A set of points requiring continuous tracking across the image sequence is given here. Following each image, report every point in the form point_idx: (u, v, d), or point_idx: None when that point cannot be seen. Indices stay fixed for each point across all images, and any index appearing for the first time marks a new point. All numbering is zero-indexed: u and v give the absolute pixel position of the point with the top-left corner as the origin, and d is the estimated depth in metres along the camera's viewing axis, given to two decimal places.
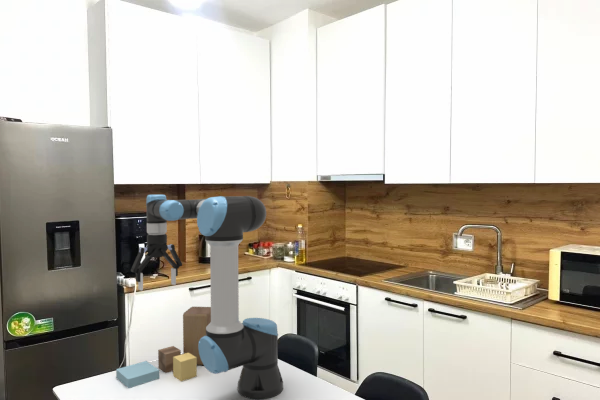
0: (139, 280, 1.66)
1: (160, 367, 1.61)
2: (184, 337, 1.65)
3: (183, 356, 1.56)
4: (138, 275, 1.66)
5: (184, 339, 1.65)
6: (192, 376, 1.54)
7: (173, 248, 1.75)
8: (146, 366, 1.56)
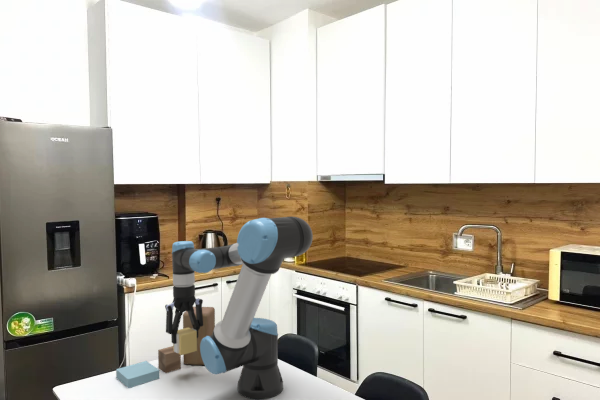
0: (175, 342, 1.51)
1: (160, 367, 1.61)
2: None
3: (183, 330, 1.55)
4: (174, 336, 1.51)
5: None
6: (192, 350, 1.54)
7: (200, 303, 1.58)
8: (146, 366, 1.56)
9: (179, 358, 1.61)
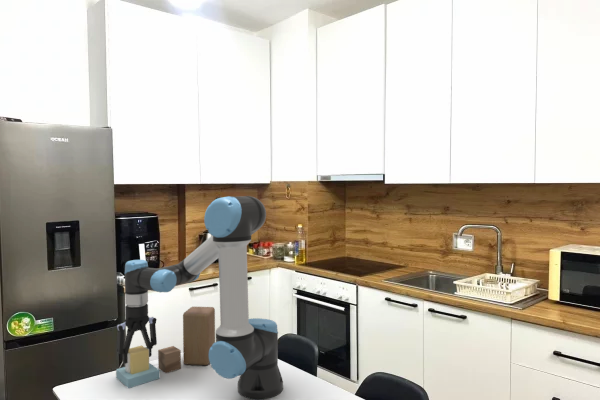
0: (126, 361, 1.51)
1: (160, 367, 1.61)
2: (184, 337, 1.65)
3: (135, 349, 1.54)
4: (125, 356, 1.50)
5: (184, 339, 1.65)
6: (144, 369, 1.53)
7: (154, 322, 1.57)
8: None
9: (179, 358, 1.61)
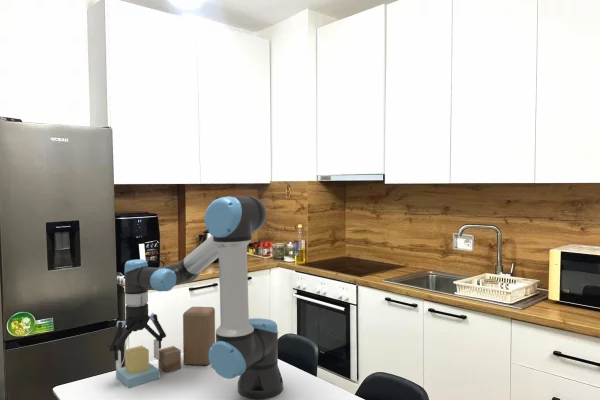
0: (116, 359, 1.48)
1: (160, 367, 1.61)
2: (184, 337, 1.65)
3: (135, 349, 1.54)
4: (115, 353, 1.48)
5: (184, 339, 1.65)
6: (144, 369, 1.53)
7: (155, 318, 1.57)
8: None
9: (179, 358, 1.61)
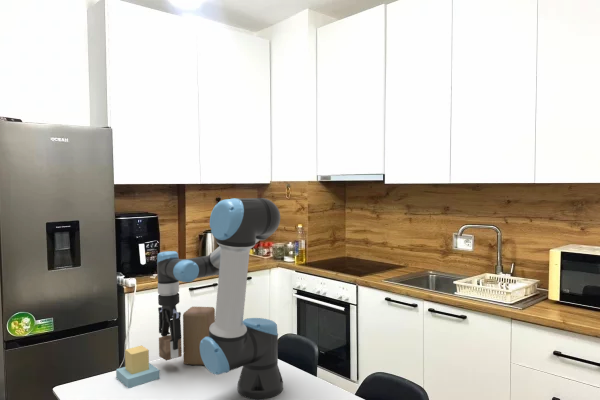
0: None
1: (161, 355, 1.60)
2: (184, 337, 1.65)
3: (135, 349, 1.54)
4: None
5: (184, 339, 1.65)
6: (144, 369, 1.53)
7: (173, 317, 1.56)
8: None
9: (180, 345, 1.61)
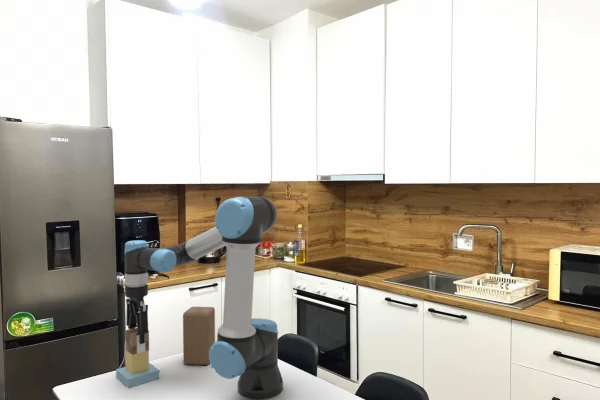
0: None
1: (127, 348, 1.53)
2: (184, 337, 1.65)
3: None
4: None
5: (184, 339, 1.65)
6: (144, 369, 1.53)
7: (140, 310, 1.48)
8: None
9: (147, 339, 1.53)
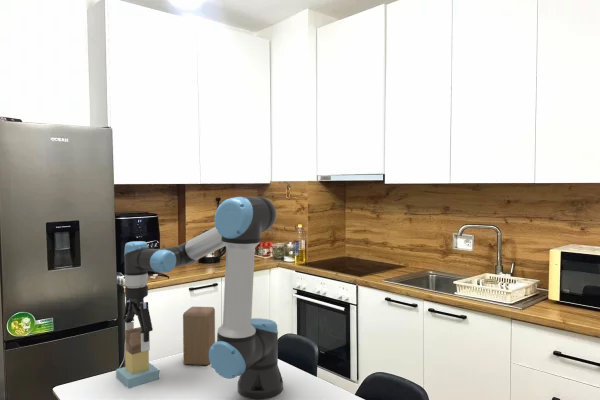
0: (126, 329, 1.59)
1: (127, 348, 1.53)
2: (184, 337, 1.65)
3: None
4: None
5: (184, 339, 1.65)
6: (144, 369, 1.53)
7: (140, 307, 1.48)
8: None
9: None
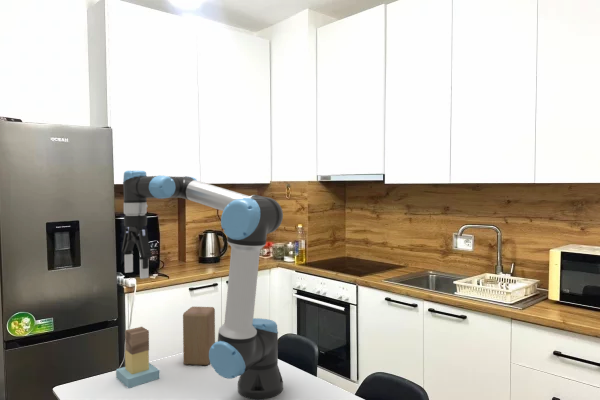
0: None
1: (127, 348, 1.53)
2: (184, 337, 1.65)
3: None
4: None
5: (184, 339, 1.65)
6: (144, 369, 1.53)
7: (139, 234, 1.47)
8: None
9: (147, 339, 1.53)
